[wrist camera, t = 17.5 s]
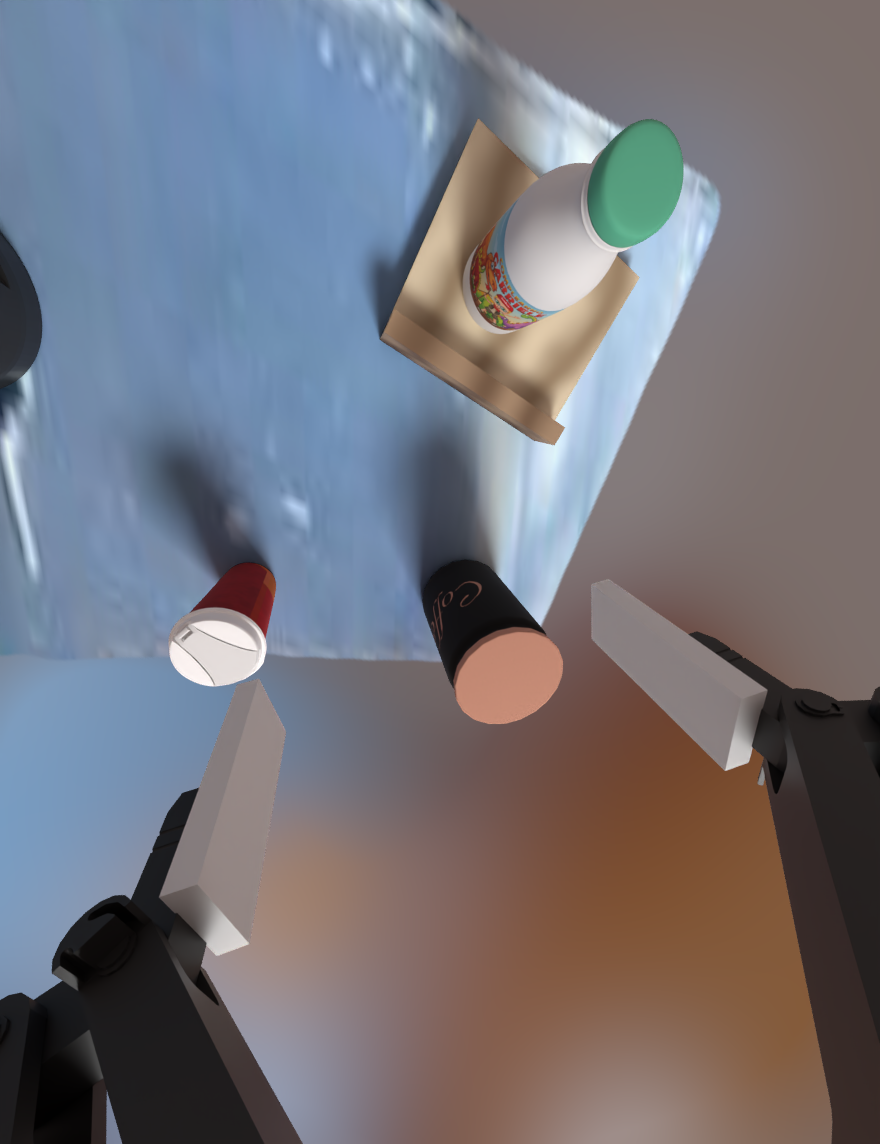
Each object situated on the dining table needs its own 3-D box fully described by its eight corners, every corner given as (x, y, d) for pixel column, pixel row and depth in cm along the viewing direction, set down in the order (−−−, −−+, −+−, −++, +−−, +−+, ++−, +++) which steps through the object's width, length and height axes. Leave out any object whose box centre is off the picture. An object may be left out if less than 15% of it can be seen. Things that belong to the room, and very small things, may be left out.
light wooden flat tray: (379, 339, 38) (384, 332, 34) (471, 132, 34) (490, 92, 29) (534, 440, 46) (554, 445, 41) (626, 282, 41) (660, 268, 37)
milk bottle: (483, 217, 35) (635, 16, 17) (551, 269, 37) (743, 144, 19) (446, 308, 37) (546, 215, 19) (513, 350, 39) (655, 306, 22)
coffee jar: (455, 540, 49) (508, 610, 33) (513, 582, 53) (585, 662, 37) (404, 604, 51) (431, 699, 35) (464, 639, 55) (512, 738, 39)
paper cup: (198, 583, 44) (140, 656, 32) (247, 540, 43) (207, 597, 31) (254, 625, 48) (221, 706, 35) (300, 585, 47) (284, 654, 34)
